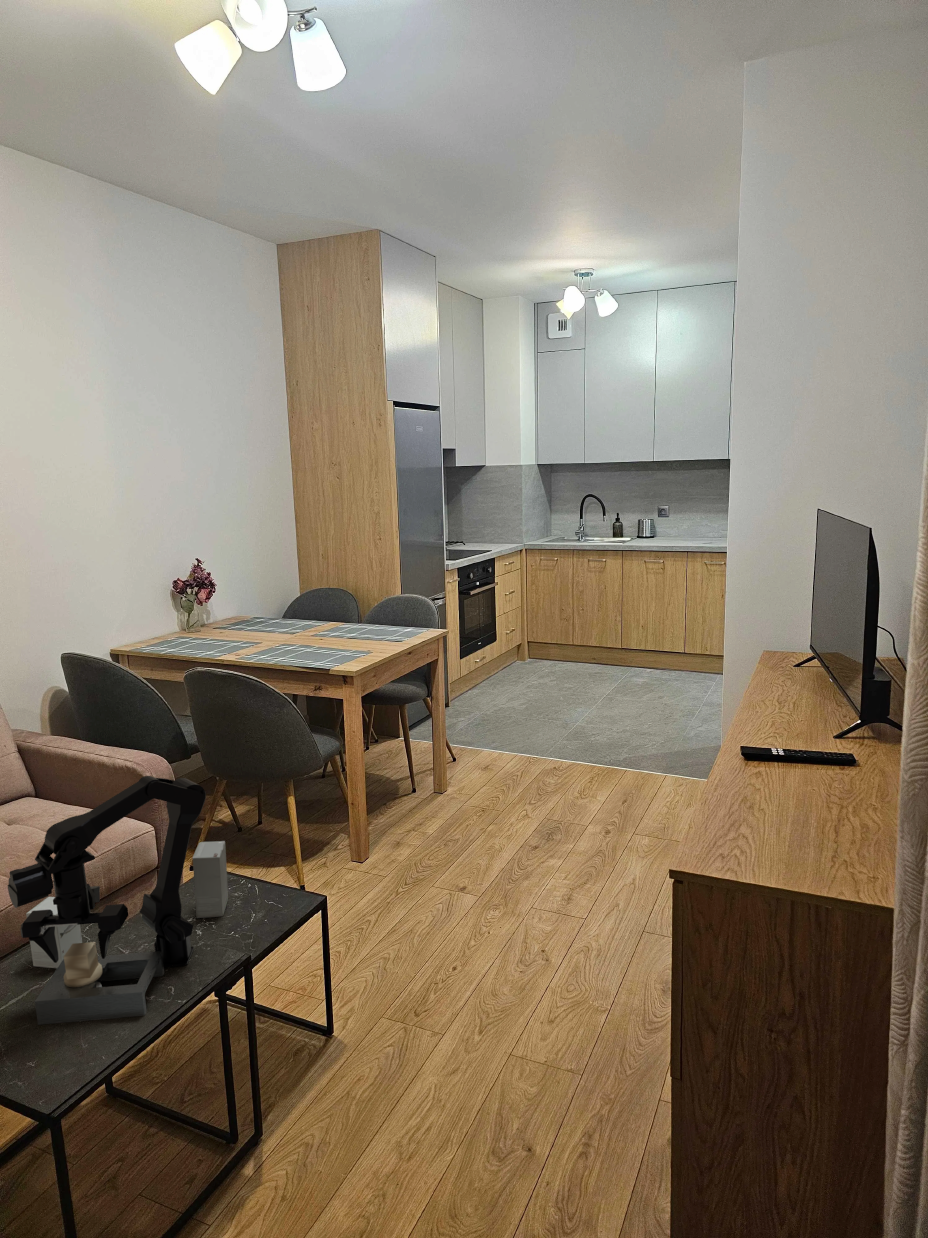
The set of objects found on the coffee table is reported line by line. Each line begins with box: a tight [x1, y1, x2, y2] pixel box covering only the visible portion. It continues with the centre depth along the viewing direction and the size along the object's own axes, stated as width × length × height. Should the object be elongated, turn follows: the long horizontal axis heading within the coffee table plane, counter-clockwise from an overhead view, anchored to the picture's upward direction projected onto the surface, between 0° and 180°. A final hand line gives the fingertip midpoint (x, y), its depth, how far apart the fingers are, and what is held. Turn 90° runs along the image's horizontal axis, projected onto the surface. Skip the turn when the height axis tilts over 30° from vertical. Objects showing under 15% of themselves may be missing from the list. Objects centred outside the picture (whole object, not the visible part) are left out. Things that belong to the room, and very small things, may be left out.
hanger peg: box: [64, 941, 103, 988], centre depth 165 cm, size 7×7×10 cm
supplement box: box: [25, 896, 83, 969], centre depth 180 cm, size 7×7×13 cm
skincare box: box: [192, 840, 229, 919], centre depth 197 cm, size 8×7×16 cm
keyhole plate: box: [34, 950, 165, 1026], centre depth 166 cm, size 20×14×5 cm
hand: (80, 959), depth 164 cm, fingers open, 9 cm apart
